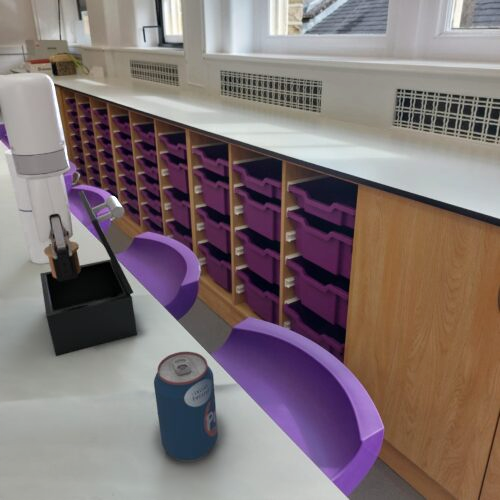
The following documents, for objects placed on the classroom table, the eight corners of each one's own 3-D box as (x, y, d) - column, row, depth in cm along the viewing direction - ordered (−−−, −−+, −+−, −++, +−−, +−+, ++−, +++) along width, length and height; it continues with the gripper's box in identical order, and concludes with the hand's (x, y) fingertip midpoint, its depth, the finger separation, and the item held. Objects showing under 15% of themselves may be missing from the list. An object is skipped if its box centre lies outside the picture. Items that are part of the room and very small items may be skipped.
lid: (91, 221, 70) (124, 206, 72) (77, 192, 83) (106, 180, 85) (129, 295, 77) (158, 280, 78) (111, 257, 90) (137, 245, 92)
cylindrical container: (32, 253, 115) (7, 148, 105) (63, 248, 117) (42, 145, 107) (29, 265, 109) (2, 155, 99) (63, 260, 111) (40, 152, 101)
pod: (79, 279, 77) (73, 253, 75) (45, 281, 77) (39, 255, 75) (86, 264, 82) (81, 240, 80) (55, 266, 82) (49, 242, 80)
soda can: (225, 456, 59) (219, 377, 54) (168, 473, 57) (157, 392, 52) (209, 417, 65) (203, 343, 60) (158, 431, 63) (147, 355, 58)
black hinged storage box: (57, 364, 76) (46, 316, 73) (50, 316, 90) (40, 273, 86) (138, 342, 81) (131, 296, 77) (120, 299, 94) (113, 258, 91)
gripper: (13, 154, 78) (38, 256, 85) (15, 180, 63) (45, 300, 71) (63, 147, 80) (83, 247, 88) (75, 171, 66) (97, 288, 74)
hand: (65, 270), depth 79 cm, fingers closed on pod, 5 cm apart
